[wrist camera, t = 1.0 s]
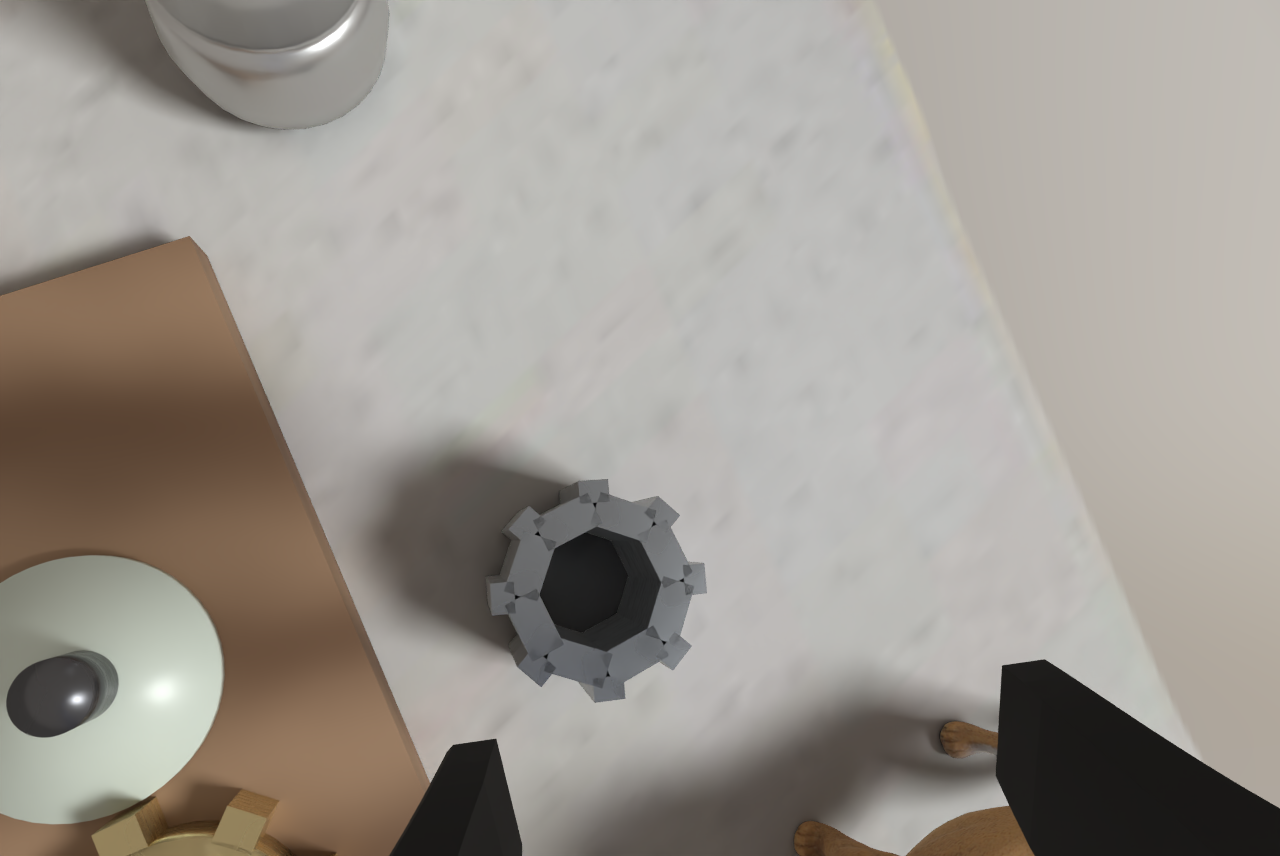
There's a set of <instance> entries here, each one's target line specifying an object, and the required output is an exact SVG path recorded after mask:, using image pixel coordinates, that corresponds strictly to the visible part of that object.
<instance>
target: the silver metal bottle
mask: <svg viewBox="0 0 1280 856" xmlns="http://www.w3.org/2000/svg"><path fill="white" fill-rule="evenodd" d="M145 2H146V5H147V8H148V11H149V13H150V16H151V19H152V21H153V24H154V26H155V29H156V32H157V34H158V37H159V39H160V41H161V42H162V44H163V46H164V47H165V49H166V51H167V53H168V54H169V56H170V58H171V59H172V60H173V61H174V62H175V63H176V65H177V66H178V67H179V68H180V69H181V70H182V71H183V73H184V74H185V75H186V76H187V77H188V78H189V79H190V80H191V81H192V82H193V83H194V84H195V85H196V86H197V87H198V88H199V89H200V90H201V91H202V92H203V93H204V94H205V95H206V96H207V97H208V98H210V99H211V100H212V101H213V102H215V103H216V104H217V105H218V106H220V107H221V108H222V109H223V110H225V111H227V112H229V113H231V114H233V115H235V116H236V117H238V118H240V119H242V120H245V121H248V122H251V123H254V124H257V125H260V126H263V127H270V128H277V129H284V130H286V129H306V128H311V127H315V126H319V125H324V124H327V123H329V122H331V121H333V120H336V119H338V118H340V117H342V116H344V115H345V114H347V113H348V112H350V111H351V110H352V109H354V108H355V107H356V106H358V105H359V104H360V103H361V102H362V101H363V100H364V98H365V97H366V96H367V95H368V94H369V93H370V92H371V90H372V88H373V87H374V85H375V83H376V81H377V80H378V78H379V76H380V73H381V70H382V67H383V63H384V60H385V54H386V46H387V38H388V27H389V7H388V0H145Z"/></svg>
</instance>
